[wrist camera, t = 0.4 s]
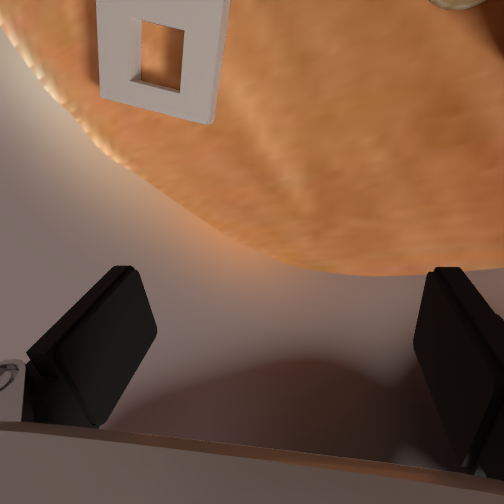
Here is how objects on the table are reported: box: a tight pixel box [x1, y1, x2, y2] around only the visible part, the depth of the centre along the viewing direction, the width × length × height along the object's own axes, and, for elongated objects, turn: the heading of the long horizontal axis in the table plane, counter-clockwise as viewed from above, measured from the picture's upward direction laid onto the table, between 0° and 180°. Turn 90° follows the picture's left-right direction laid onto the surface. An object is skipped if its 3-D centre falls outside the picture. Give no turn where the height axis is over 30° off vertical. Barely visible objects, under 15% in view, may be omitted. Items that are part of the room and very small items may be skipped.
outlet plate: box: [96, 0, 231, 125], centre depth 30 cm, size 16×12×3 cm
